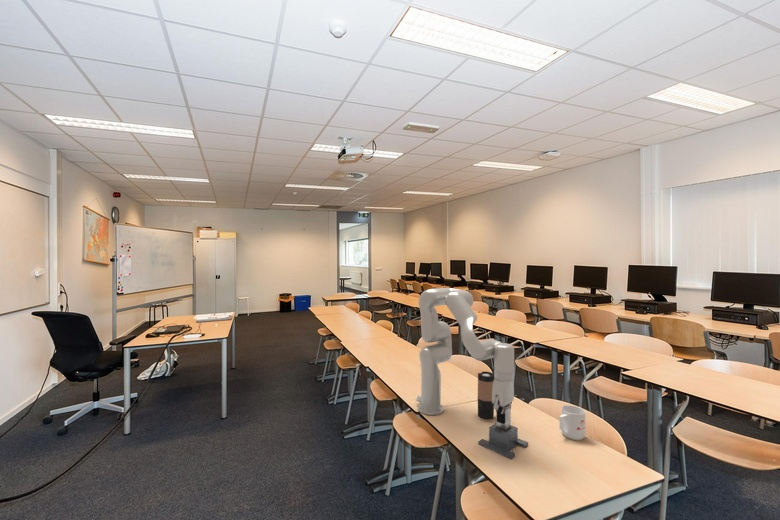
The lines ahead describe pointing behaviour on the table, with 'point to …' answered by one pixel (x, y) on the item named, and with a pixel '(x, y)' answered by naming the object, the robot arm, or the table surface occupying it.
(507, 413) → the column
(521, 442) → the stand
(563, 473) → the table surface
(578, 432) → the mug
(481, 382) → the travel mug
